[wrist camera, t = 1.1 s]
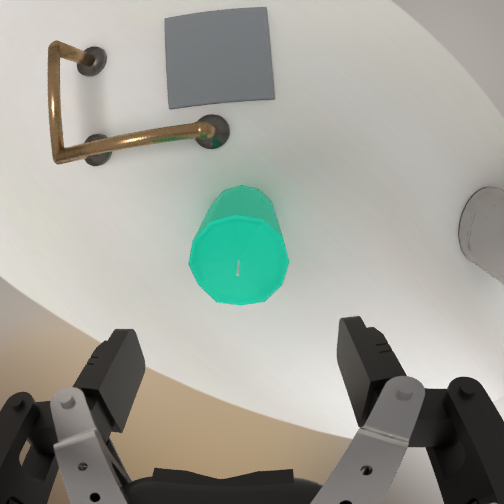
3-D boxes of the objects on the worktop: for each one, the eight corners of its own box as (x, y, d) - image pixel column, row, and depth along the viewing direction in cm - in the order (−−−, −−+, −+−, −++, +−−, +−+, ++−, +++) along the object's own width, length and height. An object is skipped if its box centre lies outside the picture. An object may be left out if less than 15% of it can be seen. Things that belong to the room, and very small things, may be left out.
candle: (207, 186, 27) (178, 223, 16) (275, 184, 27) (293, 220, 16) (211, 250, 29) (189, 321, 18) (275, 248, 29) (291, 319, 18)
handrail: (221, 21, 22) (212, -14, 15) (230, 146, 26) (224, 150, 19) (79, 52, 22) (37, 37, 15) (87, 167, 26) (43, 180, 19)
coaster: (266, 9, 21) (266, 7, 21) (274, 99, 24) (274, 98, 24) (166, 20, 21) (164, 18, 21) (170, 109, 25) (168, 108, 24)
